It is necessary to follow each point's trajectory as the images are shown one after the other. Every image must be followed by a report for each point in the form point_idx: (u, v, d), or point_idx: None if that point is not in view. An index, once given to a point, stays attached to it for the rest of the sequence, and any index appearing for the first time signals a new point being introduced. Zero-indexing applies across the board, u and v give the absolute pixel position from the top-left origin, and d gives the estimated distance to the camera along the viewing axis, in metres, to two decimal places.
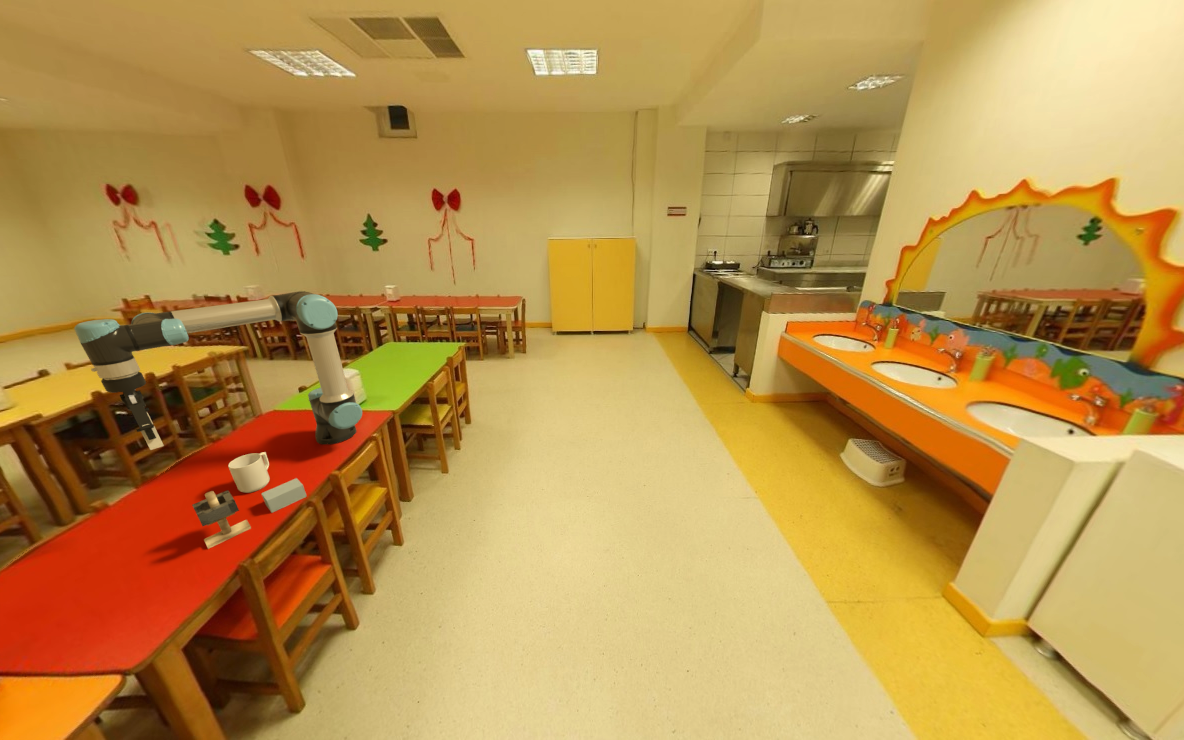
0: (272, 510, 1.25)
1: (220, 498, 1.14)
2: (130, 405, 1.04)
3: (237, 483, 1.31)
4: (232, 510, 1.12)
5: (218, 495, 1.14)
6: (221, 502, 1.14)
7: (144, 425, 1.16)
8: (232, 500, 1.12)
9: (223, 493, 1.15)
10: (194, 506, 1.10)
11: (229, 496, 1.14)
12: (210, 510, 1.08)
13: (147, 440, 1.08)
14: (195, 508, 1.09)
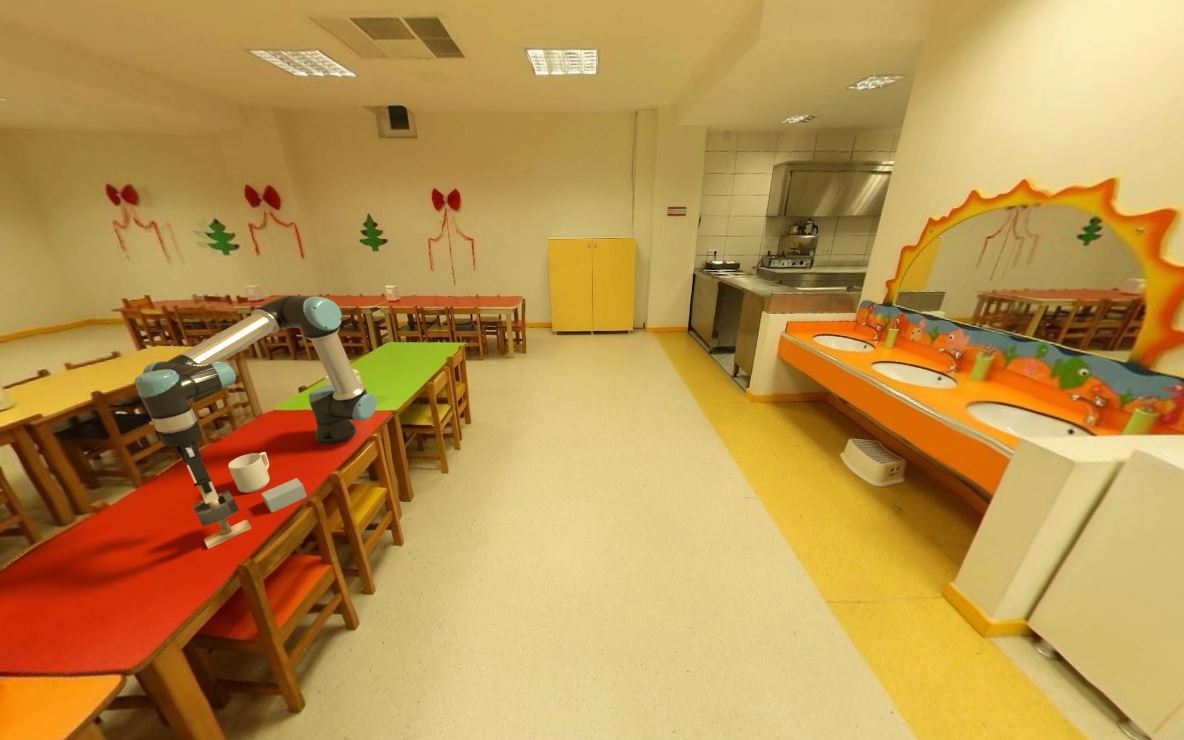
0: (272, 510, 1.25)
1: (220, 498, 1.14)
2: (188, 459, 0.99)
3: (237, 483, 1.31)
4: (232, 510, 1.12)
5: (218, 495, 1.14)
6: (221, 502, 1.14)
7: None
8: (232, 500, 1.12)
9: (223, 493, 1.15)
10: (194, 506, 1.10)
11: (229, 496, 1.14)
12: (210, 510, 1.08)
13: (203, 494, 1.03)
14: (195, 508, 1.09)
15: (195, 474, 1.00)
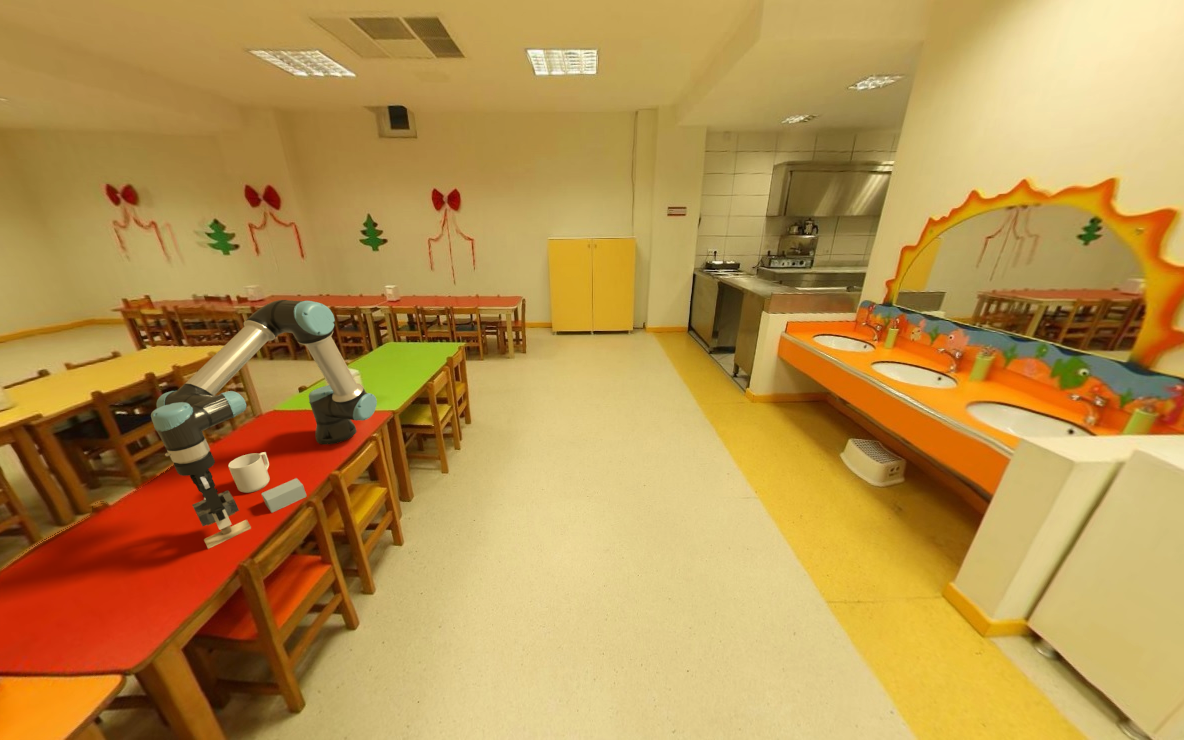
0: (272, 510, 1.25)
1: (220, 498, 1.14)
2: (204, 491, 1.04)
3: (237, 483, 1.31)
4: (232, 510, 1.12)
5: (218, 495, 1.14)
6: None
7: None
8: (232, 500, 1.12)
9: (223, 493, 1.15)
10: (194, 506, 1.10)
11: (229, 496, 1.14)
12: (210, 510, 1.08)
13: (217, 521, 1.09)
14: (195, 508, 1.09)
15: (210, 504, 1.05)
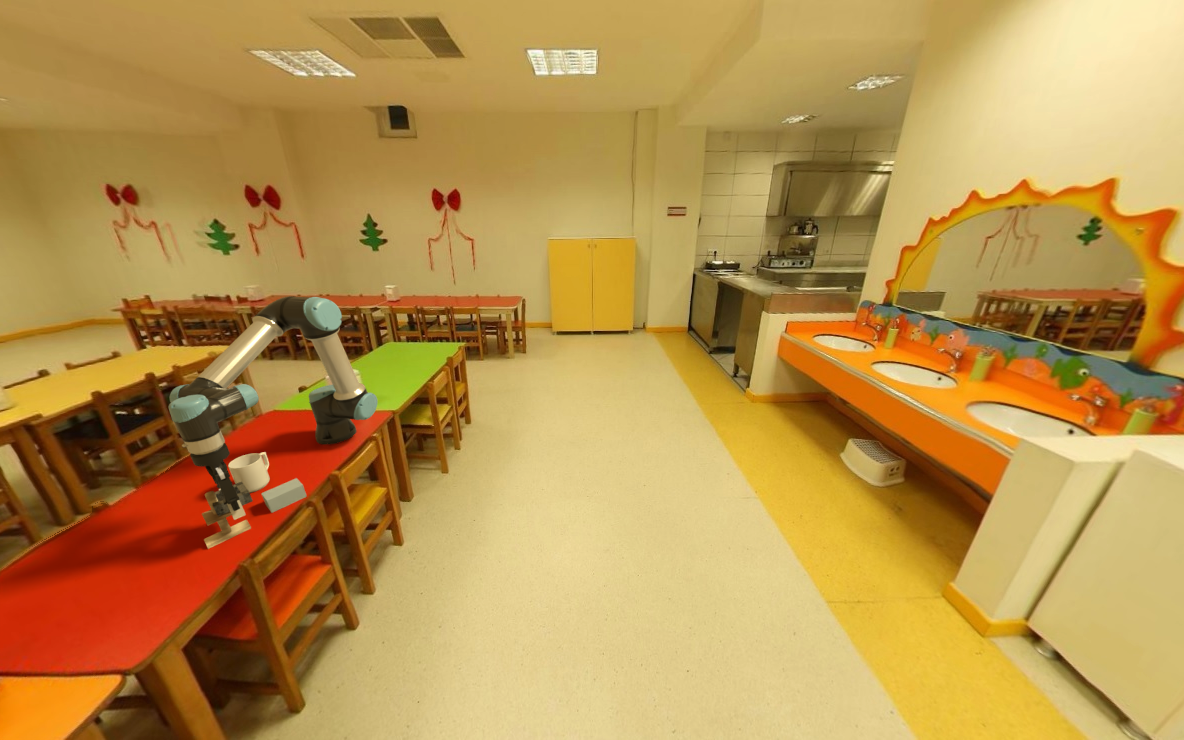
0: (272, 510, 1.25)
1: None
2: (219, 481, 1.06)
3: None
4: (246, 501, 1.14)
5: None
6: None
7: None
8: (246, 491, 1.14)
9: (237, 484, 1.17)
10: None
11: (243, 487, 1.16)
12: (225, 500, 1.11)
13: (232, 511, 1.11)
14: None
15: (225, 494, 1.07)
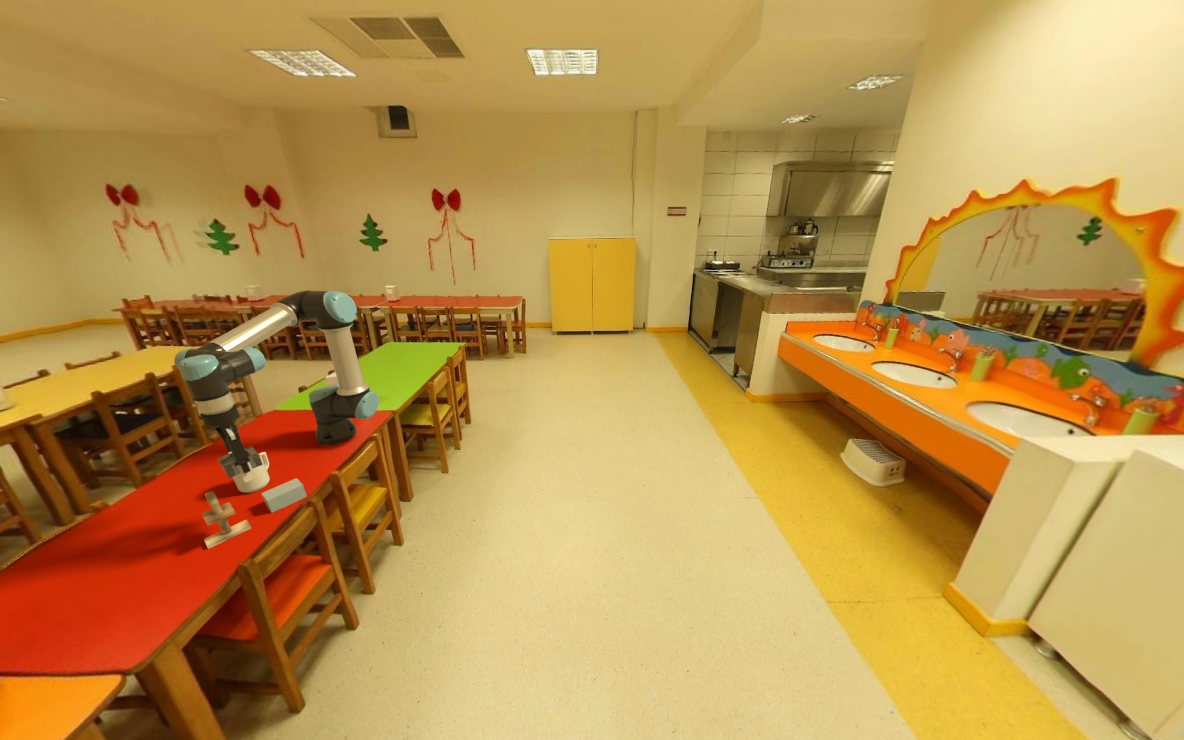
0: (272, 510, 1.25)
1: None
2: (230, 442, 1.06)
3: (237, 483, 1.31)
4: (256, 464, 1.14)
5: None
6: None
7: None
8: (256, 454, 1.14)
9: (247, 448, 1.17)
10: (219, 459, 1.12)
11: (253, 451, 1.16)
12: (235, 463, 1.10)
13: (242, 473, 1.11)
14: (220, 461, 1.12)
15: (236, 455, 1.07)
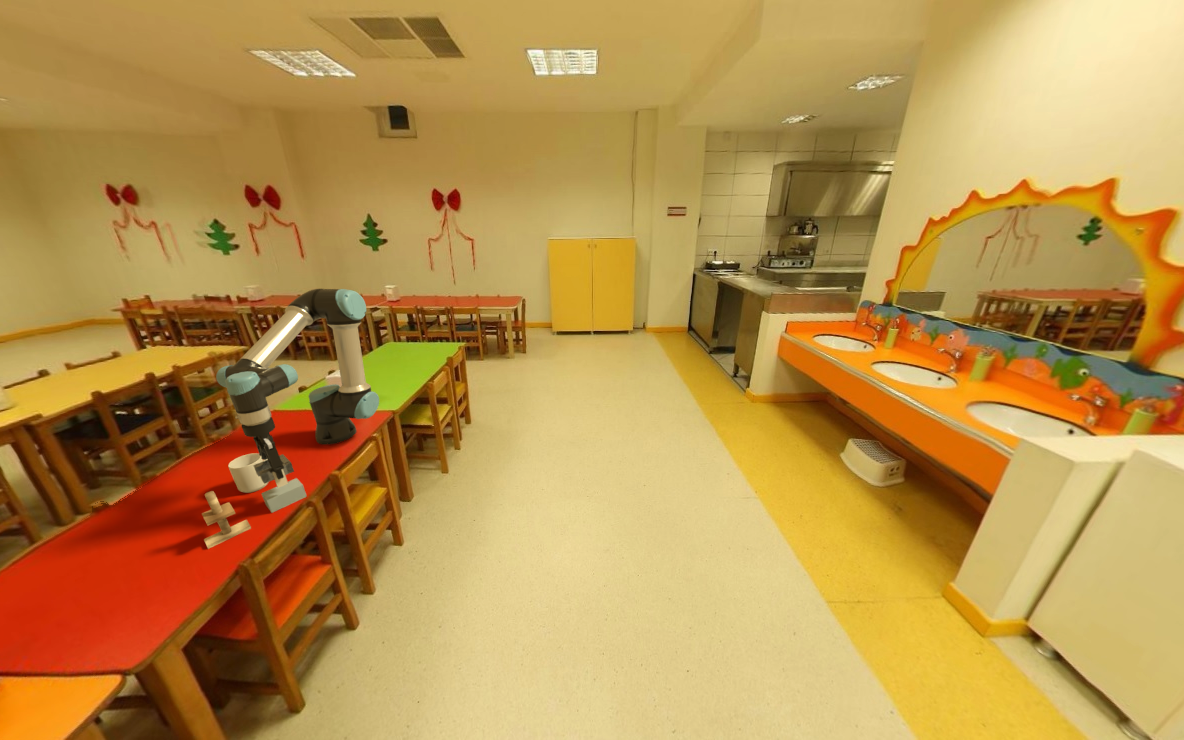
0: (272, 510, 1.25)
1: None
2: (267, 450, 1.17)
3: (237, 483, 1.31)
4: (288, 471, 1.25)
5: None
6: None
7: None
8: (288, 462, 1.25)
9: (279, 456, 1.28)
10: (255, 466, 1.23)
11: (285, 459, 1.27)
12: (270, 469, 1.21)
13: (276, 479, 1.22)
14: (256, 468, 1.22)
15: (272, 463, 1.18)
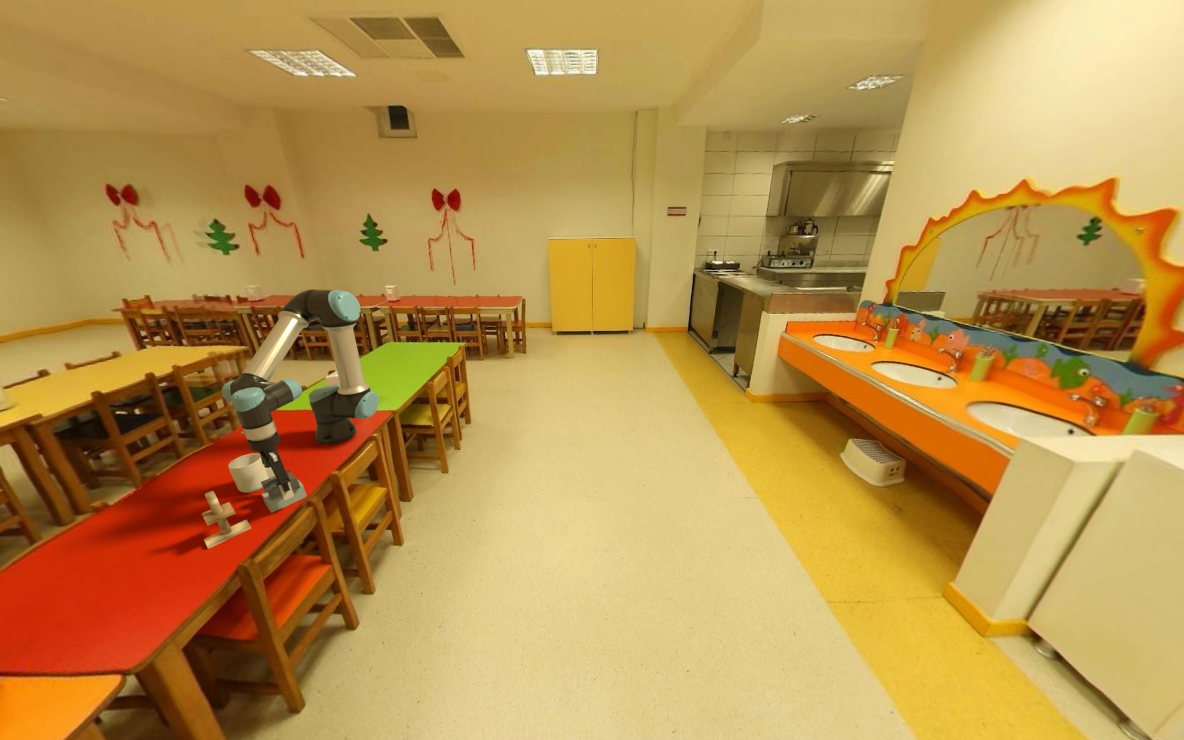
0: (272, 510, 1.25)
1: None
2: (273, 463, 1.18)
3: (237, 483, 1.31)
4: (295, 487, 1.27)
5: None
6: None
7: None
8: (295, 478, 1.28)
9: None
10: (263, 483, 1.25)
11: (291, 475, 1.29)
12: (277, 486, 1.24)
13: (283, 492, 1.23)
14: (264, 485, 1.25)
15: (278, 476, 1.19)
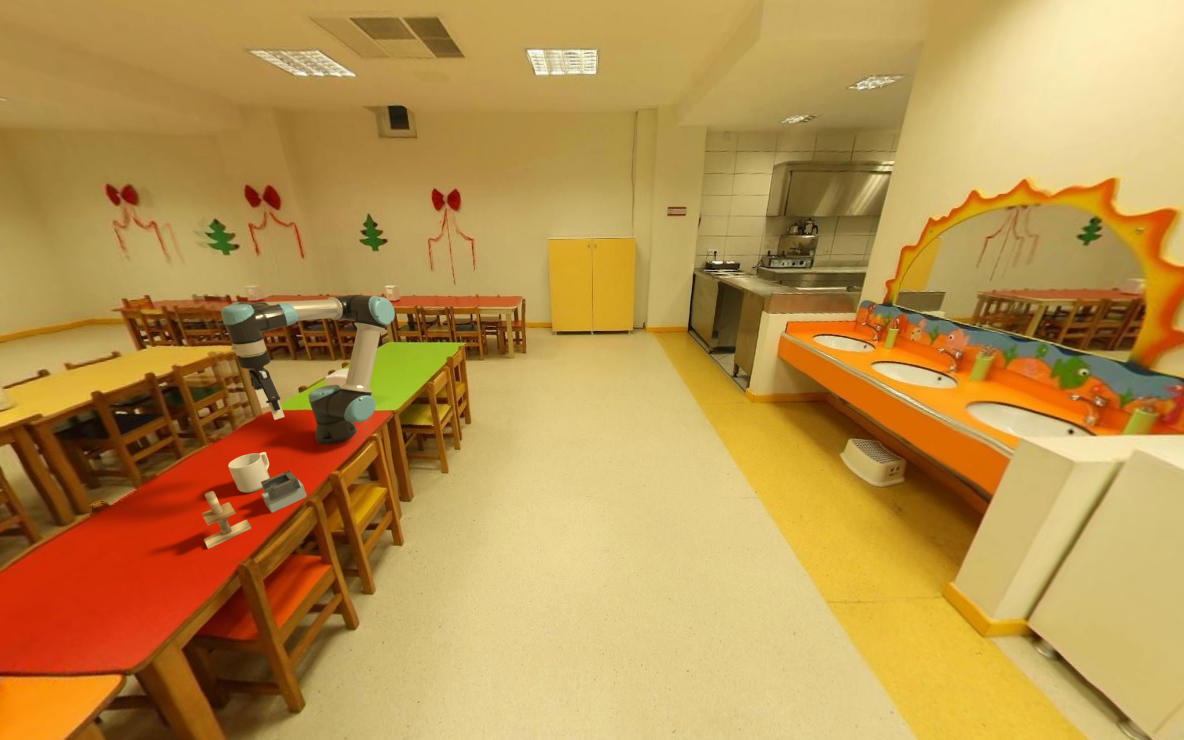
0: (272, 510, 1.25)
1: (283, 477, 1.30)
2: (262, 379, 1.19)
3: (237, 483, 1.31)
4: (295, 487, 1.27)
5: (281, 474, 1.30)
6: (284, 480, 1.30)
7: (262, 399, 1.31)
8: (295, 478, 1.28)
9: (285, 473, 1.30)
10: (263, 483, 1.25)
11: (291, 475, 1.29)
12: (277, 486, 1.24)
13: (273, 411, 1.23)
14: (264, 485, 1.25)
15: (268, 392, 1.20)
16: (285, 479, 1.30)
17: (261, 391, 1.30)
